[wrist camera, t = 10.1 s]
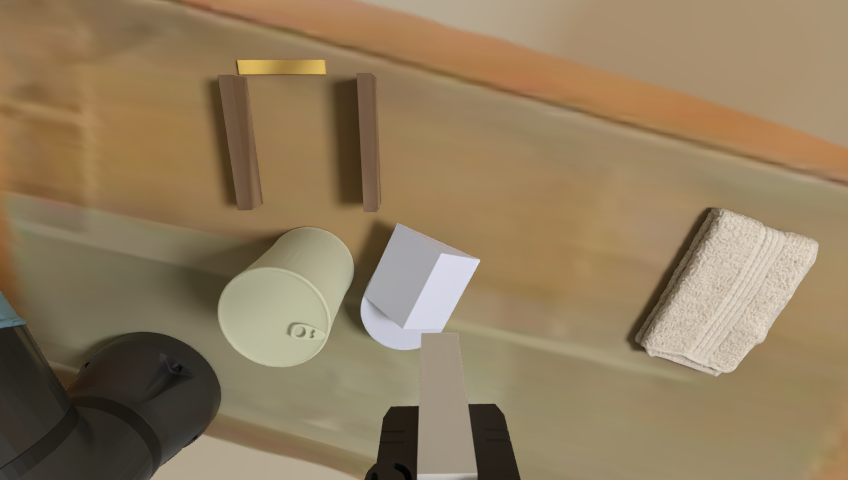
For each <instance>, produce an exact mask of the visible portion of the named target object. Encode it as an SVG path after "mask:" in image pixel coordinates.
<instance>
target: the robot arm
mask: <svg viewBox="0 0 848 480" xmlns="http://www.w3.org/2000/svg"><path fill="white" fill-rule="evenodd" d="M26 323H27V322H26V320H25V319H24V318H21V317H19V315H18V314H17V313H16V311H15V310H14V309H13V307H12V306H11V305H10V303H9V302H8V300H7V299H6V298H5V296H4V295H3V293H2V292H1V290H0V480H150V479H151V477H152V476H153V475H154V473H155V472H156V471H157V469H158V468H159V467H160V466H162V465H163V464H165V463H166V462H167V461H169V460H170V459H171V458H172V457H174V456H175V455H176V454H177V453H178V452H180V451H181V450H182V448H184V447H186V446H188V445H190V444H191V443H192V442H193V441H195V440H196V439H198V438H199V437H200V436H201V435H202V434H203V433H204V431H205V430H206V429H207V427H208V426H209V424H210V423H211V422H212V420H213V419H214V417H215V416H216V414H217V412H218V409H219V406H220V401H221V391H220V385H219V382H218V379H217V376H216V374H215V372H214V371H213V369H212V368H211V366H210V365H209V363H208V362H207V361H206V360H205V359H204V358H203V357H202V356H201V355H200V354H199V353H198V352H197V351H195V350H194V349H193V348H191V347H190V346H188V345H186V344H185V343H183V342H181V341H179V340H177V339H174V338H171V337H169V336H165V335H161V334H156V333H132V334H127V335H124V336H121V337H118V338H116V339H114V340H112V341H111V342H109V343H108V344H106V345H105V346H104V347H102V348H101V349H100V350H98V351H97V352H96V353H94V354H93V355H92V356H91V357H90V358H89V359H88V360H87V361H86V362H85V364H84V365H83V367H82V368H81V370H80V372H79V374H78V377H77V379H76V380H75V381H74V382H73V383H72V384H71V385H70V387H69V388H68V389H67V391H65V389H64V388H63V386H62V385H61V383H60V381H59V380H58V378H57V377H56V375H55V374H54V372H53V370H52V369H51V367H50V366H49V364H48V362H47V361H46V359H45V357H44V355H43V354H42V352H41V350H40V349H39V347H38V345H37V344H36V342H35V340H34V339H33V337H32V335H31V334H30V332H29V330H28V328H27V327H26V325H25V324H26ZM364 480H520V476H519V472H518V468H517V464H516V460H515V456H514V452H513V448H512V444H511V441H510V436H509V432H508V429H507V424H506V420H505V416H504V414H503V413H502V412H501V410H500V409H499V408H498V407H497V406H496V404H468V401H467V394H466V386H465V379H464V372H463V365H462V358H461V350H460V343H459V336H458V332H449V333H421V358H420V391H419V406H397V407H390V409H389V410H388V412H387V413H386V415H385V416H384V418H383V423H382V430H381V437H380V444H379V450H378V457H377V463H376V464H374V465H373V466H372V468H371V469H370V470H369V471H368V472H367V474H366V477H365V479H364Z"/></svg>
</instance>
